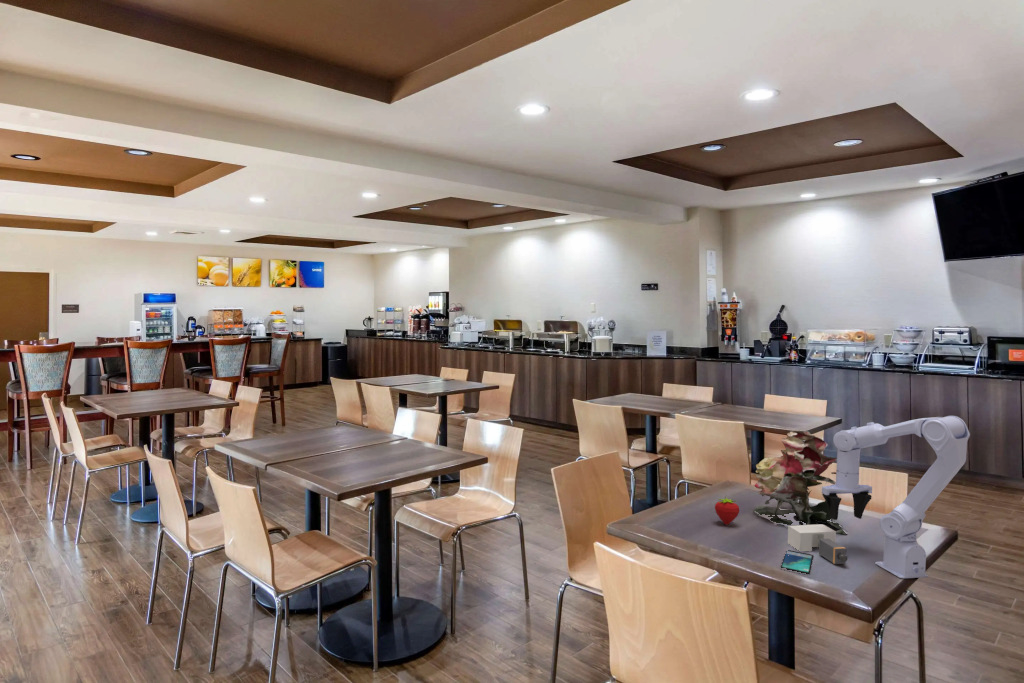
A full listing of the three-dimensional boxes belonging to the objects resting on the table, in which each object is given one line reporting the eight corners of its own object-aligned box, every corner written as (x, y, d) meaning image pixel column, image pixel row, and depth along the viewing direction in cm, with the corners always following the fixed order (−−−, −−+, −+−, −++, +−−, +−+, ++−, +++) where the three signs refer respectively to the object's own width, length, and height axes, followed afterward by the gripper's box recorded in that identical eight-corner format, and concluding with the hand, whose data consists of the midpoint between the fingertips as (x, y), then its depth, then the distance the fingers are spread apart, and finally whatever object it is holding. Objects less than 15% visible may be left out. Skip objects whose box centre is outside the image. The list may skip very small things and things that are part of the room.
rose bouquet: (812, 505, 216) (815, 421, 214) (857, 536, 186) (861, 439, 185) (739, 504, 216) (741, 421, 214) (773, 535, 187) (777, 438, 185)
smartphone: (813, 554, 171) (809, 573, 158) (813, 557, 171) (809, 576, 158) (786, 549, 175) (779, 567, 162) (786, 551, 175) (779, 570, 162)
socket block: (835, 550, 175) (835, 531, 175) (799, 551, 174) (800, 533, 174) (822, 542, 181) (822, 524, 181) (787, 543, 180) (788, 525, 179)
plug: (849, 566, 163) (850, 550, 163) (838, 566, 163) (839, 551, 163) (828, 553, 172) (829, 538, 172) (818, 554, 172) (819, 539, 171)
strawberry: (737, 529, 191) (738, 498, 190) (712, 525, 194) (713, 495, 194) (740, 524, 196) (741, 493, 196) (715, 520, 200) (716, 490, 199)
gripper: (860, 467, 179) (858, 512, 180) (815, 468, 177) (813, 514, 178) (878, 473, 172) (876, 520, 173) (831, 475, 170) (829, 522, 171)
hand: (845, 518), depth 175 cm, fingers open, 7 cm apart
